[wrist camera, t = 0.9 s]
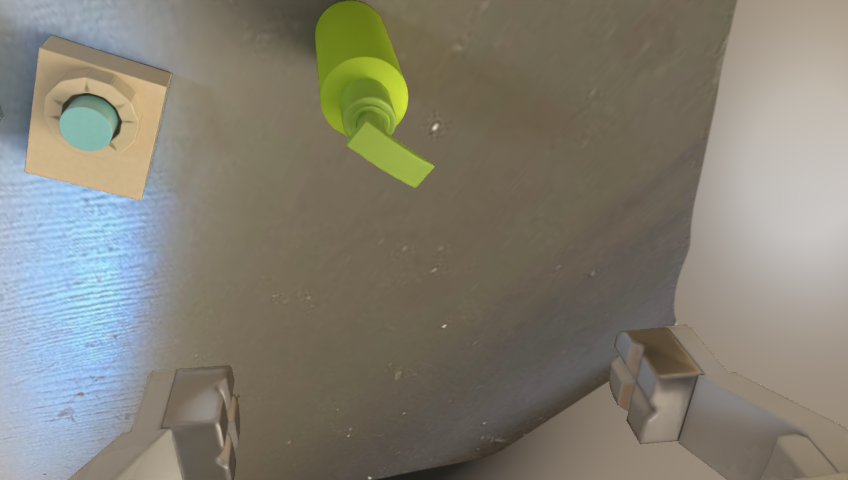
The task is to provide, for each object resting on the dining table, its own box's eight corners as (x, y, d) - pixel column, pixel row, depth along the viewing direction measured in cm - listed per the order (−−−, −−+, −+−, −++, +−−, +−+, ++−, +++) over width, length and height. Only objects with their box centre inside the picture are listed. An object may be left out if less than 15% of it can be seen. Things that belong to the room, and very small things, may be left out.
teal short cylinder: (69, 88, 48) (61, 100, 46) (121, 103, 49) (115, 115, 47) (63, 130, 50) (55, 143, 48) (114, 144, 51) (107, 157, 49)
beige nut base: (50, 34, 50) (29, 56, 46) (172, 73, 53) (162, 97, 49) (35, 155, 55) (15, 184, 51) (147, 183, 58) (136, 213, 54)
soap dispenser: (367, 90, 57) (396, 215, 40) (300, 43, 53) (304, 158, 37) (409, 37, 54) (458, 146, 38) (343, -16, 51) (366, 79, 35)
